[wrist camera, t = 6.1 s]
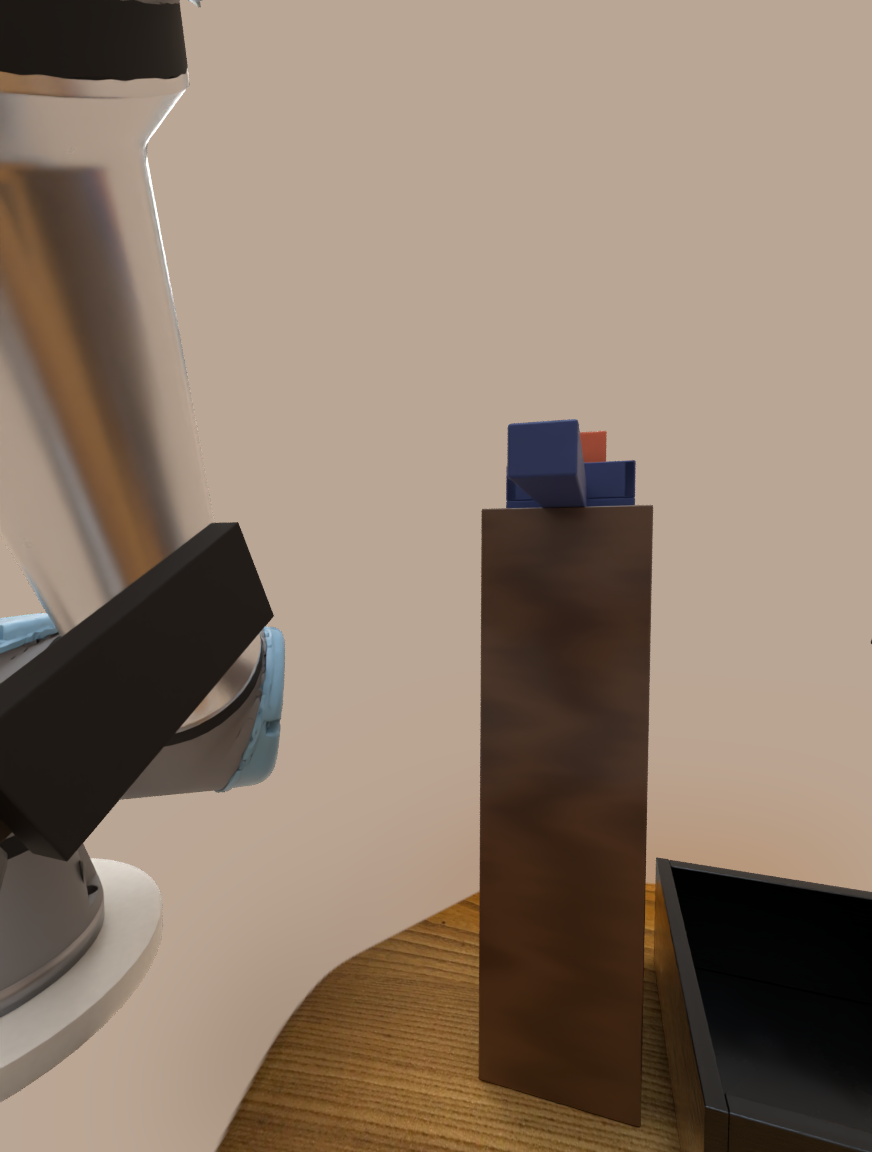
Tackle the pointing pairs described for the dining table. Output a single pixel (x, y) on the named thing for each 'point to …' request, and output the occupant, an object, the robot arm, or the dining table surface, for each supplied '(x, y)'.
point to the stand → (564, 802)
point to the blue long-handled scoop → (561, 470)
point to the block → (593, 446)
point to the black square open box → (765, 1010)
